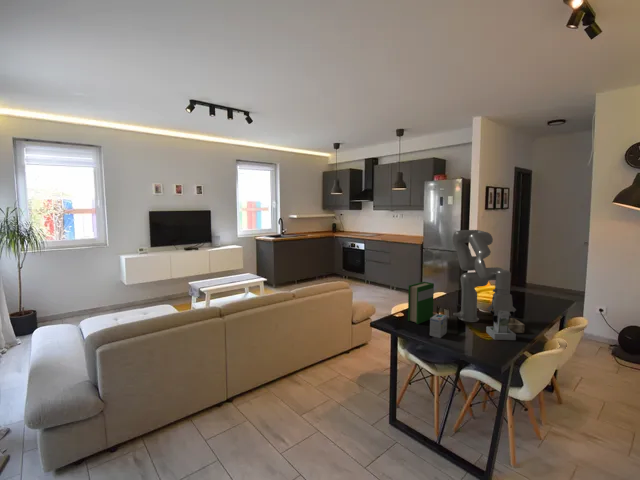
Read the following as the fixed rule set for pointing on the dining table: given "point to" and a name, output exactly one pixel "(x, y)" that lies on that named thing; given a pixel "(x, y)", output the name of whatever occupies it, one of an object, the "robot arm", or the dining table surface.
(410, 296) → the hardback book
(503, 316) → the syrup box
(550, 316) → the dining table surface
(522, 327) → the brown square tray
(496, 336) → the seat block
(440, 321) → the light bulb box
